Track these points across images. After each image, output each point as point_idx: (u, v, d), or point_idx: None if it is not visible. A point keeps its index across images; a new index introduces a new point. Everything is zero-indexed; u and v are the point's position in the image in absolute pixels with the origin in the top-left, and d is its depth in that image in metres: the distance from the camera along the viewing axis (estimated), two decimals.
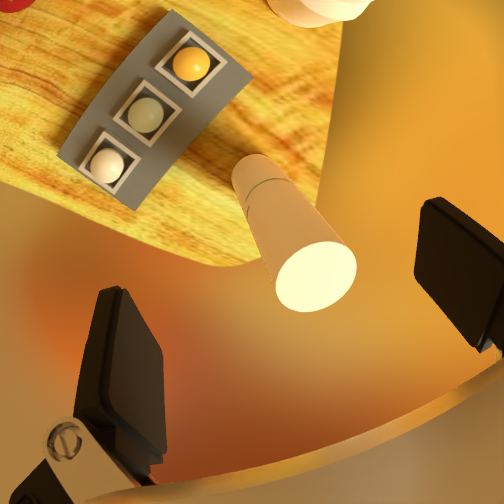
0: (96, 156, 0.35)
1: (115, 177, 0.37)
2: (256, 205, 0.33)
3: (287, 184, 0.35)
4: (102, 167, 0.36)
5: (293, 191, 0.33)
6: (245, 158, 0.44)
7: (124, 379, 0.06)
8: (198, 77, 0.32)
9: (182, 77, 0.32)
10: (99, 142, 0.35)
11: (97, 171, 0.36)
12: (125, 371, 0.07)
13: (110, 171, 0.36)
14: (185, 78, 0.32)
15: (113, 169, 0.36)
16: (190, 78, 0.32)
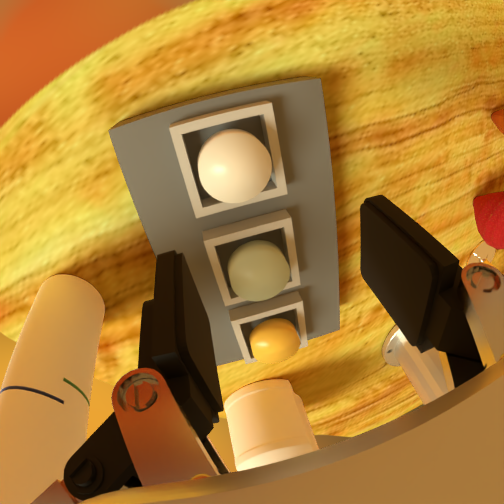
0: (268, 168, 0.18)
1: (203, 172, 0.18)
2: (70, 431, 0.15)
3: None
4: (240, 164, 0.18)
5: None
6: (103, 310, 0.28)
7: (192, 331, 0.07)
8: (255, 349, 0.26)
9: (269, 336, 0.26)
10: (277, 173, 0.20)
11: (242, 148, 0.17)
12: (192, 325, 0.07)
13: (222, 172, 0.18)
14: (265, 338, 0.26)
15: (220, 179, 0.18)
16: (261, 342, 0.26)
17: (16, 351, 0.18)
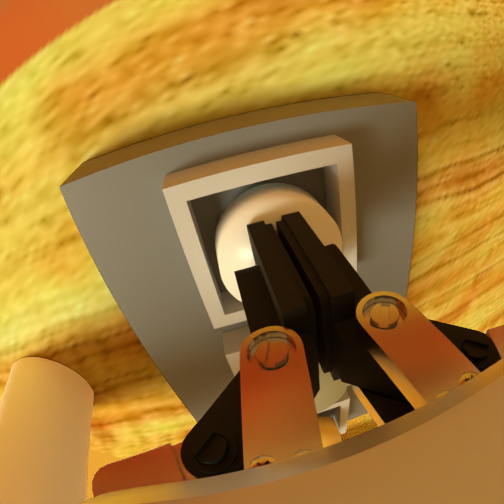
0: None
1: (228, 266, 0.10)
2: None
3: None
4: None
5: None
6: (91, 398, 0.20)
7: None
8: None
9: None
10: None
11: None
12: None
13: None
14: None
15: None
16: None
17: None
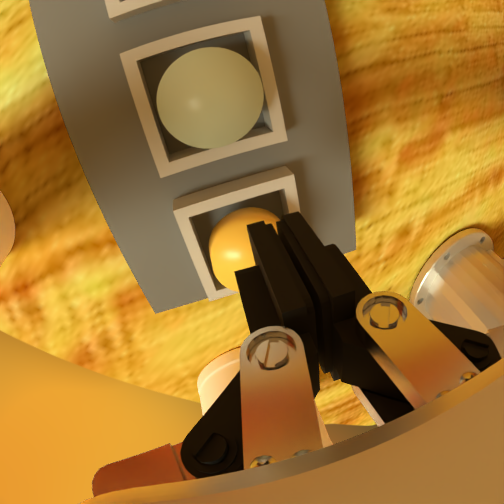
0: None
1: None
2: None
3: None
4: None
5: None
6: (9, 224, 0.17)
7: None
8: (216, 259, 0.15)
9: (238, 230, 0.15)
10: None
11: None
12: None
13: None
14: (232, 235, 0.15)
15: None
16: (225, 244, 0.15)
17: None
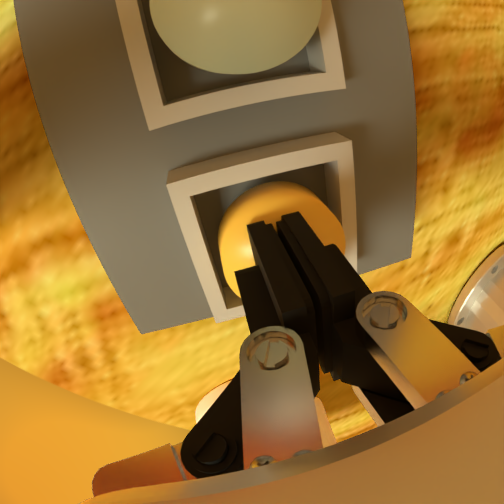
0: None
1: None
2: None
3: None
4: None
5: None
6: None
7: None
8: (229, 256, 0.10)
9: (266, 211, 0.10)
10: None
11: None
12: None
13: None
14: (256, 218, 0.10)
15: None
16: (244, 232, 0.10)
17: None
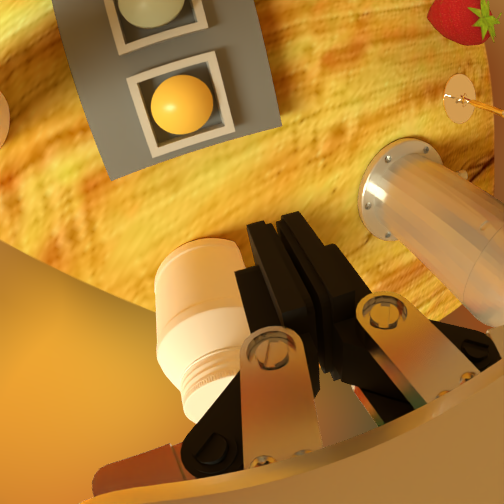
0: None
1: None
2: None
3: None
4: None
5: None
6: (6, 117, 0.19)
7: None
8: (154, 104, 0.19)
9: (169, 81, 0.18)
10: None
11: None
12: None
13: None
14: (164, 84, 0.19)
15: None
16: (160, 91, 0.19)
17: None
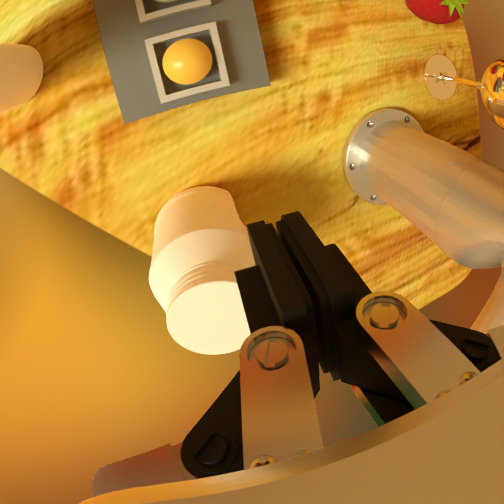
0: None
1: None
2: None
3: None
4: None
5: None
6: (40, 71, 0.23)
7: None
8: (165, 59, 0.23)
9: (178, 42, 0.22)
10: None
11: None
12: None
13: None
14: (174, 45, 0.22)
15: None
16: (170, 50, 0.22)
17: None
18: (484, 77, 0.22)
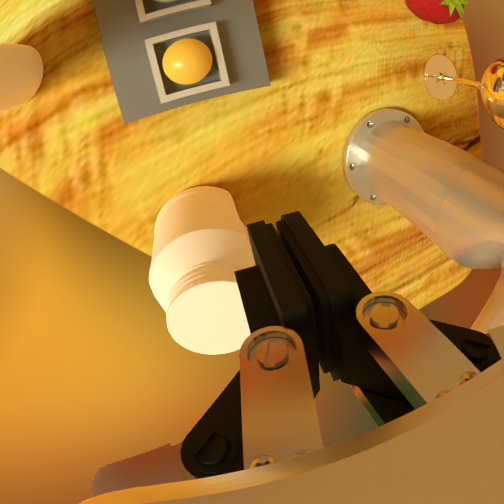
0: None
1: None
2: None
3: None
4: None
5: None
6: (40, 71, 0.23)
7: None
8: (165, 59, 0.23)
9: (178, 42, 0.22)
10: None
11: None
12: None
13: None
14: (174, 45, 0.22)
15: None
16: (170, 50, 0.22)
17: None
18: (484, 77, 0.22)
